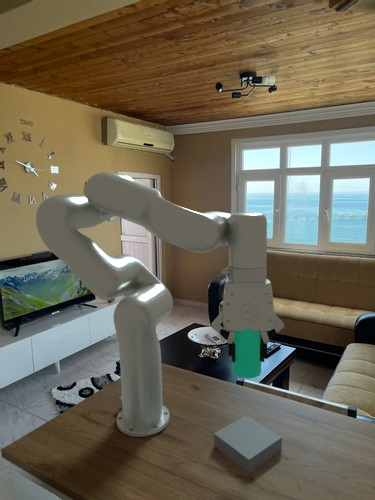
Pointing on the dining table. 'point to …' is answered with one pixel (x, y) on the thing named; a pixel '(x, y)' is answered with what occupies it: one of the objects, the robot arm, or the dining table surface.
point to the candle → (247, 354)
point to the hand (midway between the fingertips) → (247, 358)
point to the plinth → (247, 443)
